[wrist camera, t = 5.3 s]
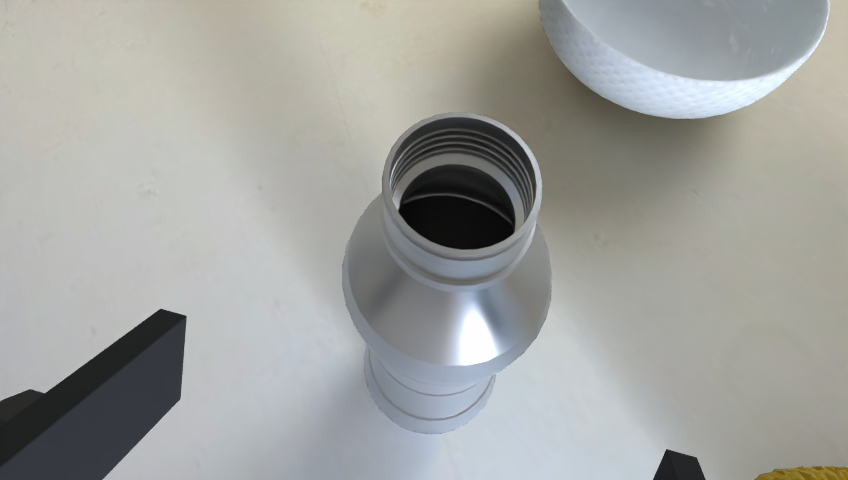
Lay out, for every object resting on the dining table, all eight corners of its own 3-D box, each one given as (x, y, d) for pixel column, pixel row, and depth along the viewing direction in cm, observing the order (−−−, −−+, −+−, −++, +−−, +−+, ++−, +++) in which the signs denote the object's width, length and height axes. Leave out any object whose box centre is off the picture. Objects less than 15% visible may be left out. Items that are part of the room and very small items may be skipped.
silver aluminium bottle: (477, 305, 33) (567, 47, 15) (500, 431, 30) (648, 305, 12) (361, 320, 32) (306, 71, 14) (374, 450, 29) (326, 348, 11)
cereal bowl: (816, 113, 39) (896, 34, 33) (597, 190, 36) (638, 120, 30) (679, -55, 46) (724, -148, 39) (484, -1, 43) (498, -93, 36)
